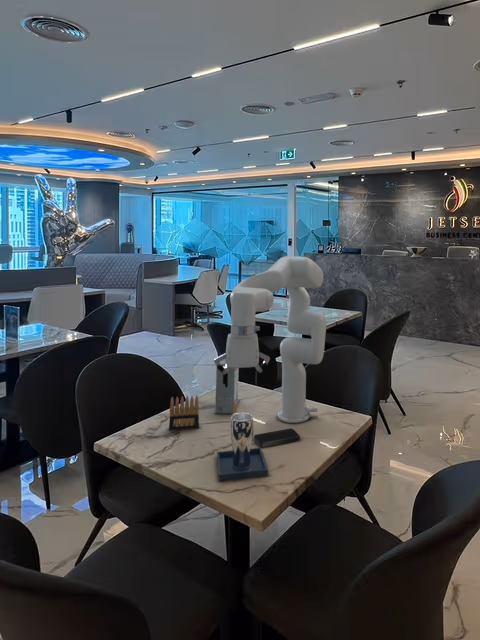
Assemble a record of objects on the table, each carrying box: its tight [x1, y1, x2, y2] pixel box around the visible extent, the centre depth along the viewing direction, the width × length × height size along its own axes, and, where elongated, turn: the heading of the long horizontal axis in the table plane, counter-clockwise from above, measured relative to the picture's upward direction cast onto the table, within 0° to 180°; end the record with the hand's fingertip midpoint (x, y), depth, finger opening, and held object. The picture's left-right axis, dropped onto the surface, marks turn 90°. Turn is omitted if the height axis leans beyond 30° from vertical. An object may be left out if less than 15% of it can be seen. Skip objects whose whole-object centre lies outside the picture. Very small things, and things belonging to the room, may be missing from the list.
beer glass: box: [230, 412, 254, 470], centre depth 136 cm, size 7×7×15 cm
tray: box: [216, 447, 269, 482], centre depth 136 cm, size 14×14×2 cm
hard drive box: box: [214, 358, 240, 414], centre depth 184 cm, size 16×8×20 cm, turn 2°
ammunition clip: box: [168, 395, 200, 431], centre depth 162 cm, size 11×2×12 cm, turn 103°
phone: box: [253, 428, 301, 448], centre depth 155 cm, size 8×1×15 cm
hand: (241, 385), depth 137 cm, fingers open, 9 cm apart
